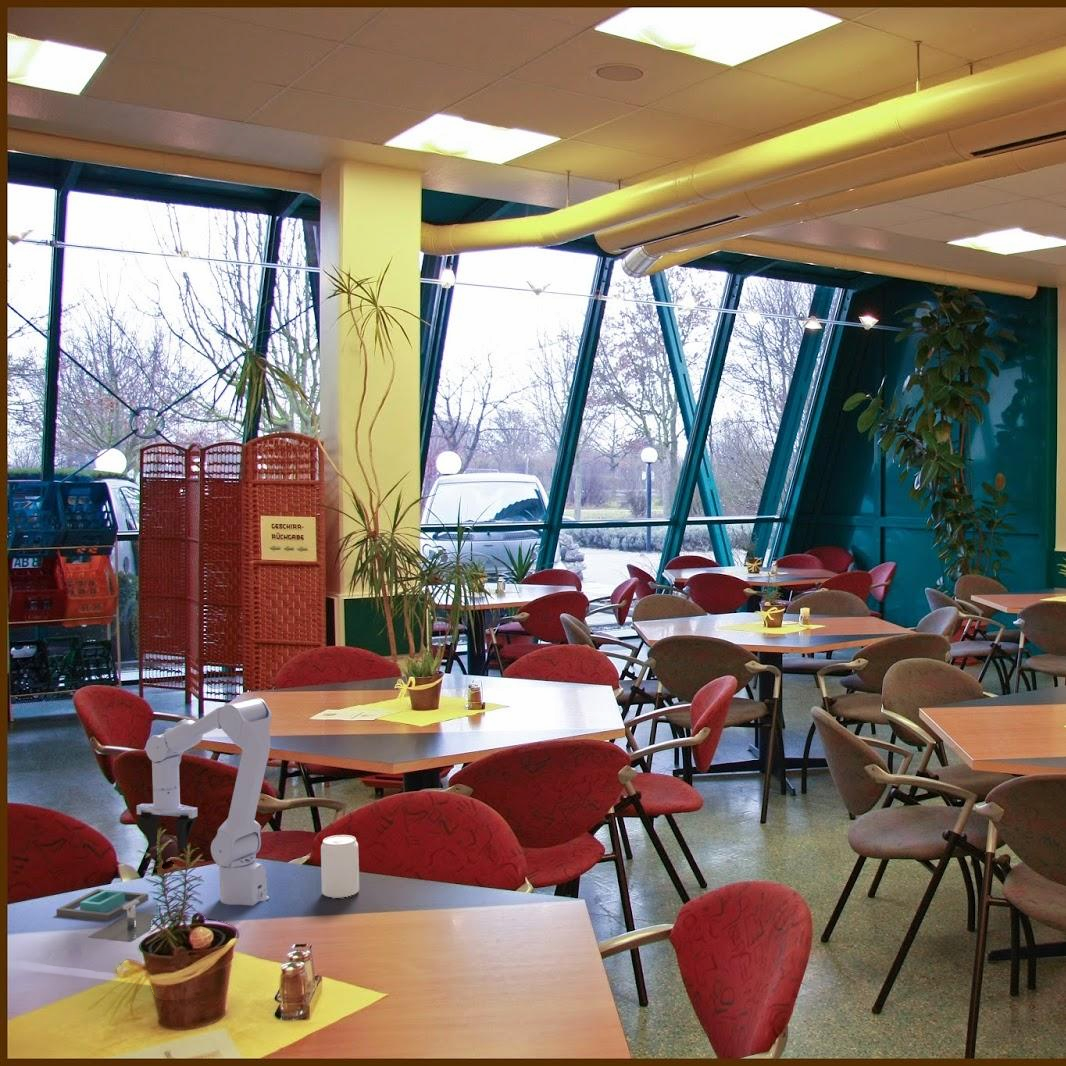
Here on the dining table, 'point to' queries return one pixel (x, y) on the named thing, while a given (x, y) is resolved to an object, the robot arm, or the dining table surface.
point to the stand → (127, 925)
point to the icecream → (168, 851)
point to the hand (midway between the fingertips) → (167, 847)
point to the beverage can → (339, 866)
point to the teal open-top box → (103, 901)
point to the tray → (72, 912)
